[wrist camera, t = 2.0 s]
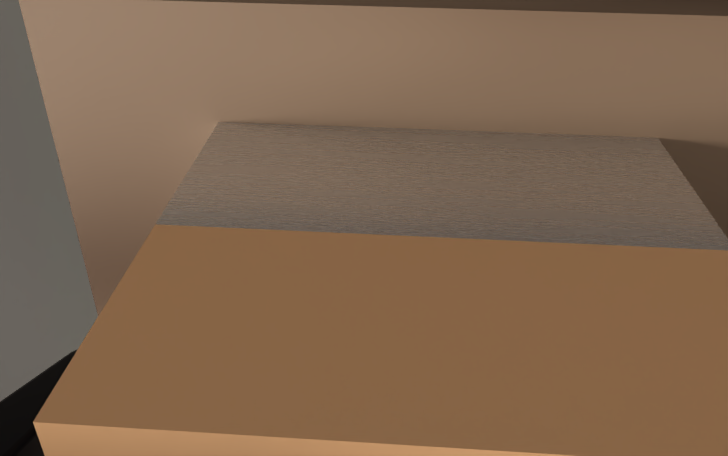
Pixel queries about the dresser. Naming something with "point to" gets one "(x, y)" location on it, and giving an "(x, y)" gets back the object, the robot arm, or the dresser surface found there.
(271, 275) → the cover
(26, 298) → the dresser surface
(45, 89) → the walnut stand
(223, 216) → the housing base
